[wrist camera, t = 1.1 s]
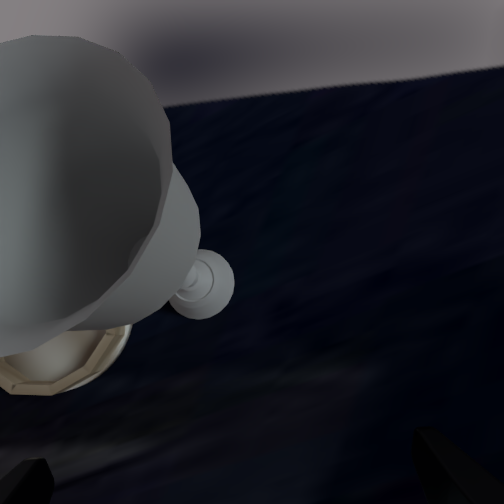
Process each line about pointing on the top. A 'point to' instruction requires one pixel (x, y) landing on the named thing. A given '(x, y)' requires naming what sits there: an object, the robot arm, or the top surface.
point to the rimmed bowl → (63, 361)
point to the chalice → (91, 199)
